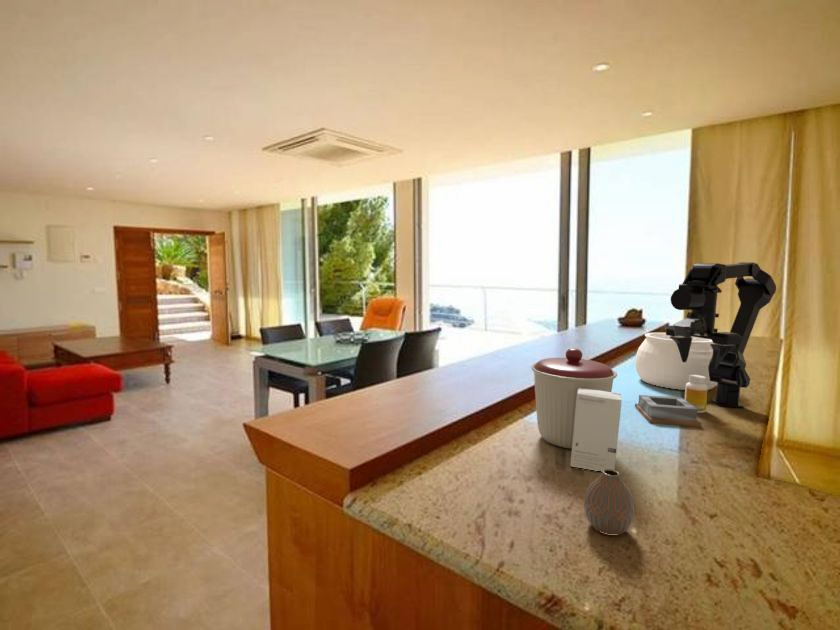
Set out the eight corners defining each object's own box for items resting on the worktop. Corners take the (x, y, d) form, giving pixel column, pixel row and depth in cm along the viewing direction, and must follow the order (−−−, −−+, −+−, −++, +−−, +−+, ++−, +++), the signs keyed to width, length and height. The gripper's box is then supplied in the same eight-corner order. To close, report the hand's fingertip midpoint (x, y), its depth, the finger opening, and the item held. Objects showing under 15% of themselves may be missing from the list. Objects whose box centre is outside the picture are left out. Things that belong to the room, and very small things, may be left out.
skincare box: (570, 468, 91) (574, 393, 89) (572, 456, 96) (576, 386, 95) (616, 476, 88) (622, 399, 86) (616, 464, 93) (621, 391, 92)
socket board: (634, 406, 133) (635, 393, 132) (680, 410, 131) (681, 396, 130) (649, 422, 119) (650, 407, 119) (700, 426, 117) (702, 411, 116)
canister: (512, 440, 105) (516, 347, 103) (551, 422, 118) (555, 339, 116) (591, 464, 93) (598, 360, 90) (624, 441, 106) (631, 349, 104)
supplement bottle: (709, 414, 128) (712, 379, 127) (687, 412, 129) (690, 377, 128) (701, 408, 133) (704, 374, 132) (680, 406, 134) (683, 373, 133)
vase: (575, 516, 73) (578, 462, 72) (617, 515, 74) (621, 462, 73) (595, 542, 66) (599, 483, 65) (642, 541, 67) (646, 482, 66)
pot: (742, 395, 148) (746, 344, 146) (657, 393, 148) (661, 342, 146) (691, 375, 176) (694, 331, 174) (620, 373, 176) (623, 330, 175)
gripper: (653, 306, 134) (649, 360, 135) (713, 313, 116) (708, 374, 118) (682, 306, 138) (678, 358, 139) (745, 312, 120) (739, 372, 122)
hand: (698, 365), depth 129 cm, fingers open, 9 cm apart
